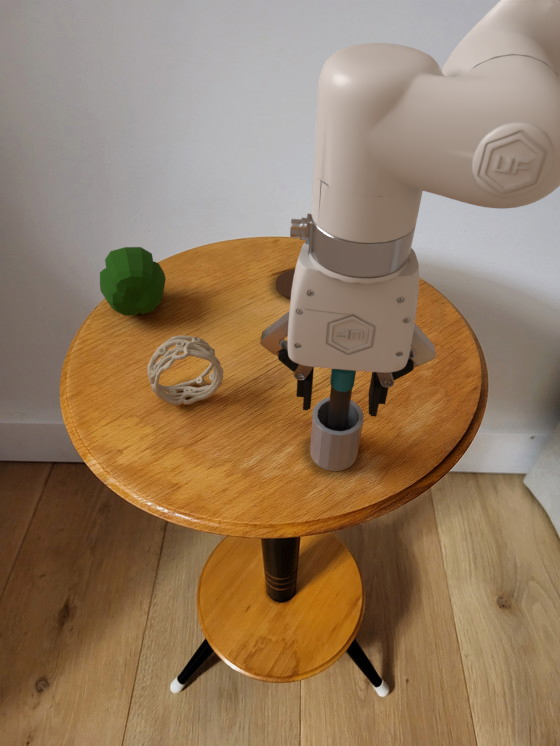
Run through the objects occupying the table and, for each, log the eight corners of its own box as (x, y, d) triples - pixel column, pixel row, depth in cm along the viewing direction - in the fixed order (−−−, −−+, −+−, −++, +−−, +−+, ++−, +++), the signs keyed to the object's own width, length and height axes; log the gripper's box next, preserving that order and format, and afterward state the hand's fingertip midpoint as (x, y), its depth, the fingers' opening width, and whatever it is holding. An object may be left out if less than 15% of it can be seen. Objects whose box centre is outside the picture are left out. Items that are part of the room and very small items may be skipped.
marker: (344, 441, 60) (356, 357, 52) (344, 458, 59) (356, 374, 50) (324, 439, 60) (332, 355, 52) (322, 456, 59) (331, 372, 50)
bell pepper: (179, 280, 71) (169, 249, 79) (115, 258, 67) (111, 227, 75) (155, 334, 74) (148, 299, 82) (92, 316, 70) (91, 281, 78)
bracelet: (150, 394, 66) (139, 343, 60) (216, 376, 68) (211, 325, 62) (159, 418, 63) (148, 367, 57) (226, 399, 65) (222, 348, 60)
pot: (357, 435, 62) (363, 398, 57) (356, 473, 58) (363, 437, 54) (311, 431, 62) (314, 394, 58) (308, 469, 58) (311, 432, 54)
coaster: (325, 273, 83) (325, 270, 83) (322, 302, 78) (323, 299, 78) (278, 270, 84) (278, 267, 83) (272, 298, 79) (272, 296, 78)
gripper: (237, 259, 40) (245, 424, 52) (486, 276, 38) (433, 441, 51) (252, 206, 45) (256, 368, 58) (472, 220, 44) (426, 382, 57)
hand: (339, 401), depth 54 cm, fingers open, 5 cm apart
